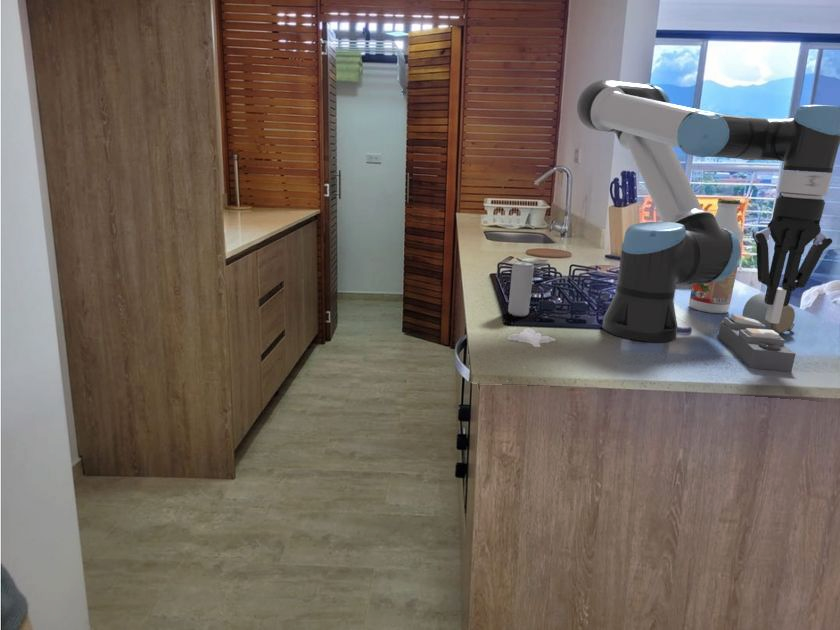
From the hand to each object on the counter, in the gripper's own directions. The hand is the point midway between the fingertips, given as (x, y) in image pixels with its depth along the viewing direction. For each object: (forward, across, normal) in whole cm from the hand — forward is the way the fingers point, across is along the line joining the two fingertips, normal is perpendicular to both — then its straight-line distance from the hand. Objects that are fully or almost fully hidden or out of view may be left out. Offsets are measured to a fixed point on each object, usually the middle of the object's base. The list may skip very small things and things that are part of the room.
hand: (771, 321), depth 111 cm
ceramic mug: (+8, +9, +23) cm, 26 cm away
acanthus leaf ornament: (+8, -45, -5) cm, 46 cm away
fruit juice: (+8, 0, +39) cm, 40 cm away
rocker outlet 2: (+3, -1, 0) cm, 3 cm away
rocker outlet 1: (+3, -1, +9) cm, 10 cm away
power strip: (+7, -1, +3) cm, 8 cm away
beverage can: (+8, -48, +15) cm, 51 cm away
